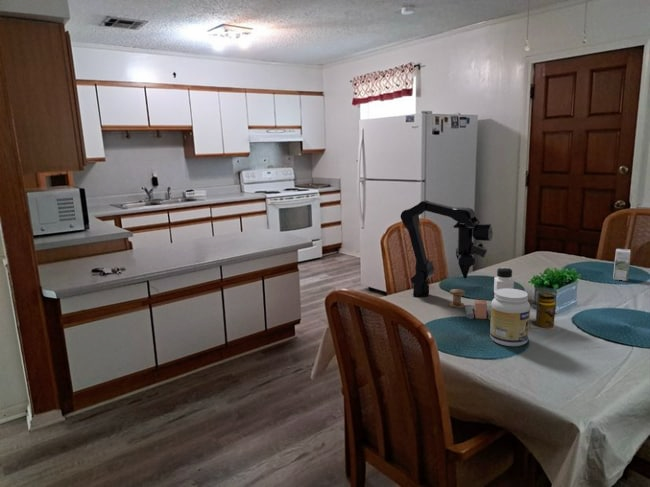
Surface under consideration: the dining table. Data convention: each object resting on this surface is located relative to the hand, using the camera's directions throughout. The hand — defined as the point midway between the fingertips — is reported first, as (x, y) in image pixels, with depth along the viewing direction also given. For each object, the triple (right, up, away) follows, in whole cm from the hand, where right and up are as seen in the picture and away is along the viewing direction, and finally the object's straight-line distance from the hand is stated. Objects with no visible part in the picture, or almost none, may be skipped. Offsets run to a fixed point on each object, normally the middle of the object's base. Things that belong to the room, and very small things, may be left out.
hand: (464, 275), depth 189 cm
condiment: (+21, -17, -24) cm, 36 cm away
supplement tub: (+4, -20, -35) cm, 41 cm away
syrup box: (+82, -4, +25) cm, 86 cm away
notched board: (+2, -15, -12) cm, 19 cm away
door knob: (-4, -13, -2) cm, 13 cm away
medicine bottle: (+21, -10, +10) cm, 25 cm away
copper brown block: (+2, -15, -14) cm, 21 cm away
